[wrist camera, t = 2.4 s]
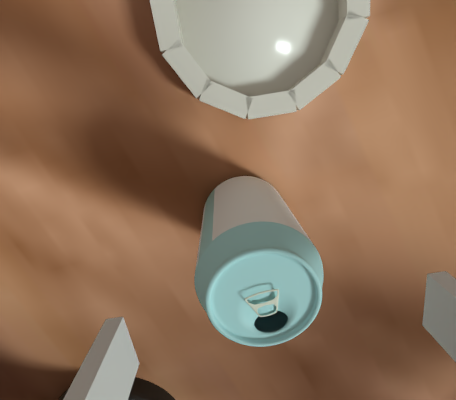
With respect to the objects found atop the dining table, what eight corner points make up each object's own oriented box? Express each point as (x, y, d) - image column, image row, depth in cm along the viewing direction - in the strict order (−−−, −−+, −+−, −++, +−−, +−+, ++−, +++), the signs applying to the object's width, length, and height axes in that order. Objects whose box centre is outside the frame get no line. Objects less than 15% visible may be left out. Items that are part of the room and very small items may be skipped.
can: (298, 203, 25) (366, 286, 14) (251, 260, 27) (275, 377, 15) (234, 157, 23) (249, 208, 12) (188, 221, 25) (164, 319, 14)
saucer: (180, 128, 22) (176, 131, 20) (135, -95, 18) (124, -121, 16) (354, 100, 22) (369, 99, 20) (353, -134, 18) (371, -165, 16)
